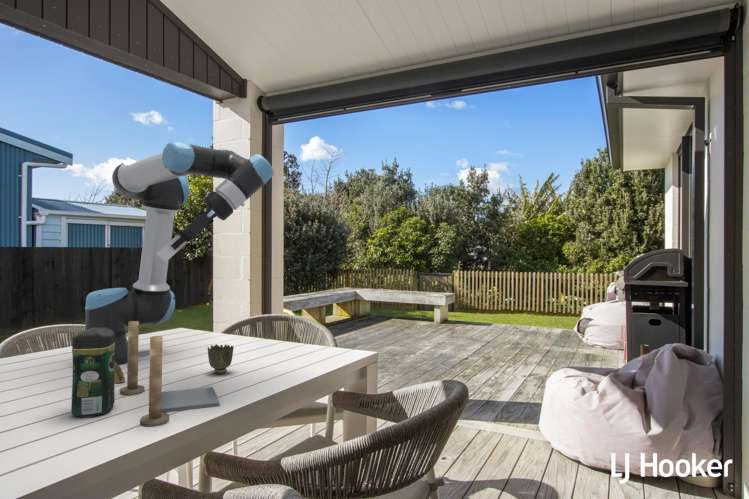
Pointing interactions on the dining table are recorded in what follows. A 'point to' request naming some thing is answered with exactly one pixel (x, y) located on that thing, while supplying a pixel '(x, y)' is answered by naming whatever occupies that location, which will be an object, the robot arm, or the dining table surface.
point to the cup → (220, 357)
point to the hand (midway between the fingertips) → (160, 257)
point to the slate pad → (188, 399)
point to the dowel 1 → (132, 361)
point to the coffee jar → (93, 372)
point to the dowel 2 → (155, 386)
